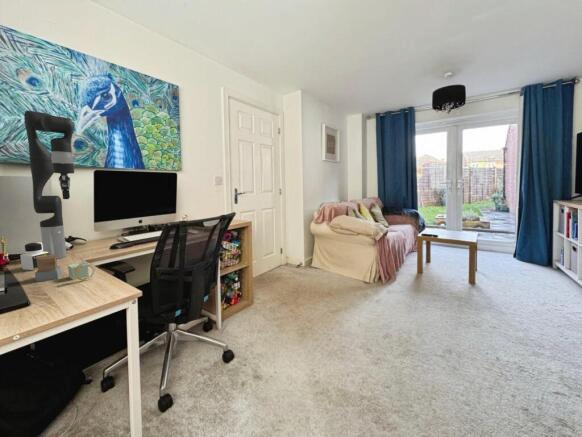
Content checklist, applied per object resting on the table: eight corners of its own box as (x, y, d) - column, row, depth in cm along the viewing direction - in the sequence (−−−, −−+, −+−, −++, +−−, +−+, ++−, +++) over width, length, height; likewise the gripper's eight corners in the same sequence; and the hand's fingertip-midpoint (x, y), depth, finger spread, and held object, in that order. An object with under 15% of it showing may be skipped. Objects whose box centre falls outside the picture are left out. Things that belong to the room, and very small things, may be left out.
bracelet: (75, 283, 110) (73, 264, 109) (74, 281, 112) (72, 262, 111) (96, 279, 114) (94, 261, 113) (94, 277, 117) (93, 259, 116)
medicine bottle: (33, 270, 124) (30, 245, 123) (21, 269, 126) (18, 244, 124) (50, 266, 131) (47, 241, 130) (38, 265, 133) (35, 241, 131)
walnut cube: (40, 268, 116) (38, 256, 115) (57, 266, 119) (55, 254, 118) (38, 272, 111) (36, 259, 111) (55, 270, 115) (54, 257, 114)
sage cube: (69, 277, 117) (67, 265, 116) (84, 274, 121) (83, 262, 120) (73, 280, 113) (71, 267, 113) (88, 276, 118) (87, 264, 117)
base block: (41, 277, 117) (39, 268, 117) (61, 274, 121) (60, 265, 120) (35, 282, 111) (34, 273, 111) (57, 279, 115) (56, 270, 114)
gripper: (53, 162, 125) (56, 198, 127) (50, 161, 114) (54, 199, 116) (73, 163, 130) (77, 197, 132) (73, 162, 119) (76, 199, 121)
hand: (66, 198), depth 124 cm, fingers open, 8 cm apart
